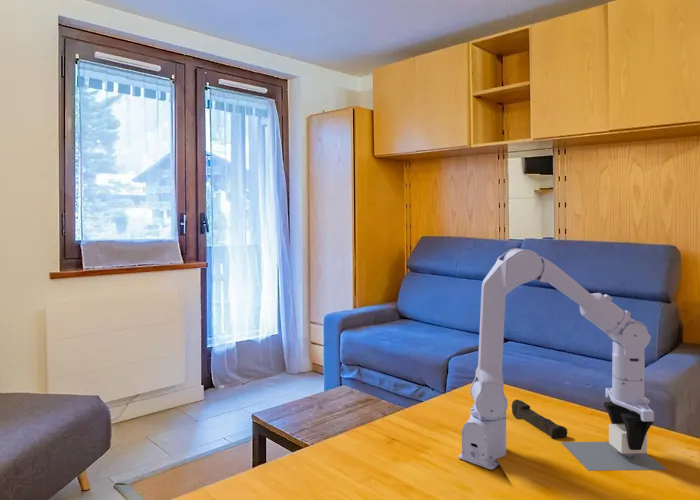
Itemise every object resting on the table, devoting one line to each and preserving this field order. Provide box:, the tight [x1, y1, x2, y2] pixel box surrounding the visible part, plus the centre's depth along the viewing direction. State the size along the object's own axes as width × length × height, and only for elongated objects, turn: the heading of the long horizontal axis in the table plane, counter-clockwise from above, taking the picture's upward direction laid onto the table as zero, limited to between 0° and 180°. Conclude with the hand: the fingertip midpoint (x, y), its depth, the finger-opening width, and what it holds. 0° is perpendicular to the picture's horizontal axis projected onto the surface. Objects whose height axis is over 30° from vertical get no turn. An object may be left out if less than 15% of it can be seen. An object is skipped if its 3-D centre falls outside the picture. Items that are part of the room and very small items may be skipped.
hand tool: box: [511, 399, 568, 440], centre depth 121 cm, size 19×4×5 cm, turn 12°
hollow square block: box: [608, 423, 648, 454], centre depth 103 cm, size 5×5×4 cm
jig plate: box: [560, 441, 668, 472], centre depth 103 cm, size 15×13×4 cm
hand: (627, 443), depth 103 cm, fingers closed on hollow square block, 5 cm apart
